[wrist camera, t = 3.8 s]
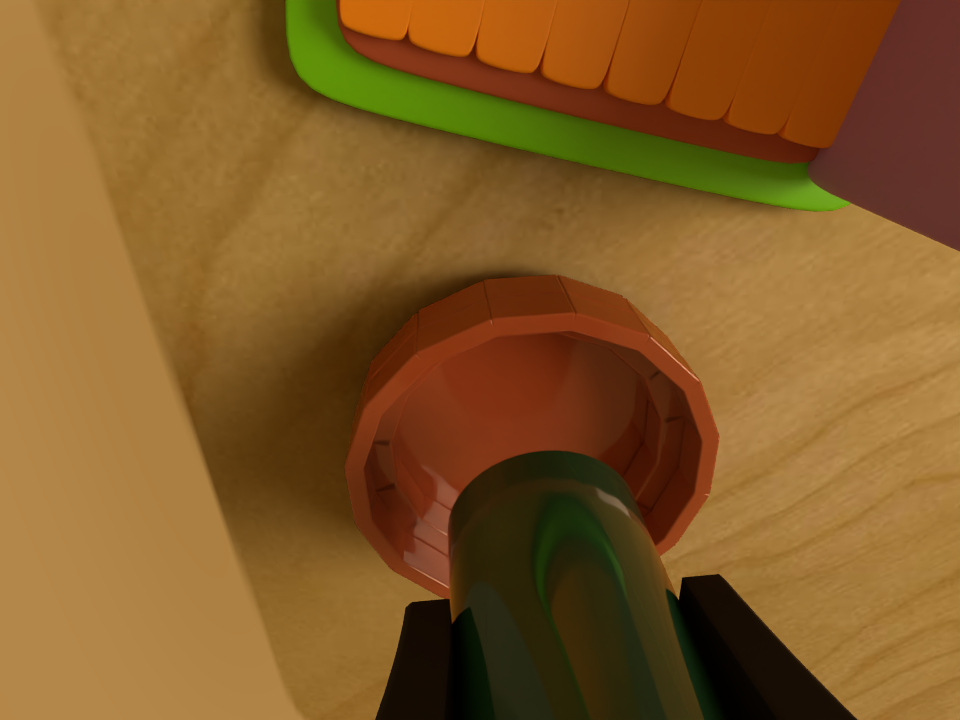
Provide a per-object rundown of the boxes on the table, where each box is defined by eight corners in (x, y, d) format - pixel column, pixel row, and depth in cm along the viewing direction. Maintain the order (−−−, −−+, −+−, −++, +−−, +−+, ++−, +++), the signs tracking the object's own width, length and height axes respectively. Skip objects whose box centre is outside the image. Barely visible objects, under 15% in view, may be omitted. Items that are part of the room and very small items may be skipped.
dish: (661, 522, 18) (693, 592, 16) (380, 546, 18) (373, 622, 15) (694, 255, 14) (744, 300, 12) (335, 280, 14) (316, 331, 11)
